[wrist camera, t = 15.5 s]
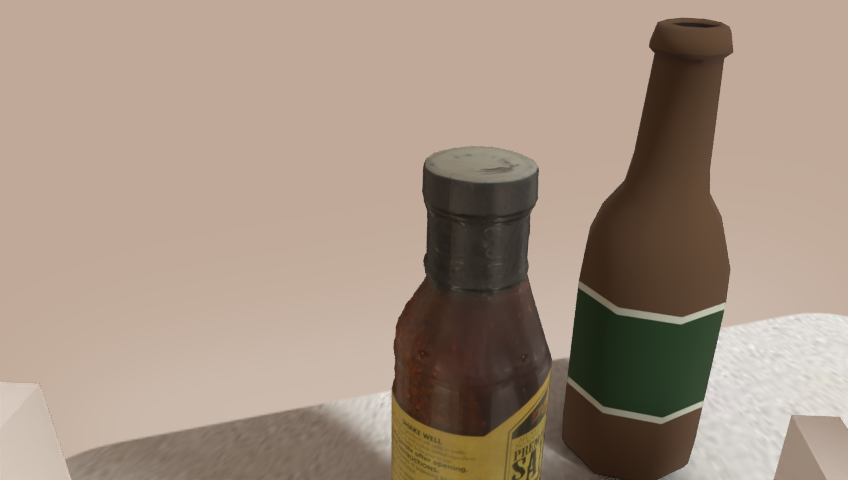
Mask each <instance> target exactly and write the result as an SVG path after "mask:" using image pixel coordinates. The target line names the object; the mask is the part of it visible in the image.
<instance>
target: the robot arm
mask: <svg viewBox="0 0 848 480" xmlns="http://www.w3.org/2000/svg"><path fill="white" fill-rule="evenodd" d="M0 480H71V477H70V474H69V471H68V468H67V465H66V462H65V458H64V456H63V452H62V449H61V446H60V443H59V440H58V437H57V434H56V431H55V428H54V425H53V422H52V419H51V416H50V413H49V410H48V407H47V404H46V401H45V398H44V394H43V391H42V388H41V385H40V383H18V382H0ZM774 480H848V429H847V428H846V426H845V424H844V423H843V421H842V420H841V418H840V417H827V416H803V415H792V416H791V419H790V423H789V427H788V430H787V434H786V437H785V441H784V445H783V448H782V452H781V455H780V459H779V463H778V466H777V470H776V473H775V477H774Z"/></svg>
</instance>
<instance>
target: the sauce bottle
mask: <svg viewBox="0 0 848 480" xmlns="http://www.w3.org/2000/svg"><path fill="white" fill-rule="evenodd" d="M538 172H539V170H538V166H537V164H536V162H535V161H534V160H532V159H530V158H528V157H526V156H524V155H522V154H519V153H516V152H513V151H509V150H505V149H500V148H494V147H475V146H472V147H460V148H452V149H448V150H443V151H439V152H436V153H433V154H432V155H431V156H429V157H428V158H426V160H425V163H424V167H423V189H422V192H423V197H424V202H425V205H426V208H427V219H428V220H427V253H426V254H425V257H424V261H423V262H424V267H425V273H426V277H425V279H424V281H423V282H422V284H421V285H420V286H419V288H418V289H417V291H416V292H415V293H414V295H413V297H412V298H411V300H410V301H408V302H407V304H406V305H405V308H404V310H403V311H402V314H401V316H400V317H399V318H398V322H397V325H396V337H395V340H394V354H395V368H394V369H395V379H394V382H393V386H392V480H540V473H541V462H542V453H543V443H544V436H545V425H546V413H547V404H548V396H549V389H550V374H551V365H552V358H551V354H550V351H549V348H548V345H547V342H546V339H545V335H544V332H543V328H542V325H541V322H540V318H539V315H538V312H537V308H536V305H535V301H534V298H533V295H532V291H531V287H530V283H529V279H528V275H527V272H528V260H527V253H528V239H529V234H530V213H531V211H532V209H533V208H534V206H535V204H536V201H537V199H538Z"/></svg>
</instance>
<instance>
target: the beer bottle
mask: <svg viewBox="0 0 848 480" xmlns="http://www.w3.org/2000/svg"><path fill="white" fill-rule="evenodd" d="M649 47H650V48H651V50H652V51H653V52H654V53H655V54H654V59H653V64H652V69H651V74H650V78H649V83H648V88H647V93H646V98H645V103H644V108H643V112H642V117H641V122H640V127H639V131H638V136H637V141H636V146H635V151H634V154H633V157H632V160H631V163H630V166H629V170H628V172H627V175H626V178H625V180H624V182H623V183H622V184H621V185H620V186H619V187H618V188H617V189H616V190H615V191H614V192H613V193H612V194H611V195H610V196H609V197H608V198H607V199H606V201H604V203H603V204H602V206H601V208H600V209H599V212H598V213H597V215H596V217H595V219H594V221H593V223H592V225H591V227H590V231H589V235H588V240H587V244H586V249H585V253H584V259H583V263H582V268H581V273H580V278H579V284H578V293H577V301H576V310H575V318H574V327H573V336H572V344H571V354H570V361H569V369H568V378H567V386H566V395H565V403H564V412H563V429H562V439H563V441H564V443H565V444H566V445H567V446H568V447H569V448H570V449H571V450H572V451H573V452H574V453H575V454H576V455H577V456H578V457H579V458H580V459H581V460H582V461H583V462H584V463H585V464H586V465H587V466H588V467H589V468H590V469H592V470H593V471H594V472H595V473H596V474H600V475H605V476H610V477H614V478H619V479H624V480H657V479H659V478H661V477H663V476H666V475H668V474H670V473H672V472H674V471H676V470H678V469H681V468H683V467H684V466H685V465H687V464H688V461H689V458H690V454H691V451H692V448H693V445H694V441H695V437H696V433H697V429H698V424H699V420H700V415H701V411H702V406H703V402H704V398H705V393H706V389H707V384H708V380H709V375H710V371H711V366H712V362H713V358H714V353H715V349H716V344H717V340H718V335H719V331H720V327H721V322H722V318H723V313H724V309H725V304H726V298H727V290H728V283H729V275H730V265H729V259H728V252H727V246H726V241H725V235H724V228H723V222H722V217H721V215H720V213H719V211H718V209H717V207H716V205H715V203H714V201H713V199H712V196H711V194H710V164H711V157H712V149H713V141H714V133H715V125H716V118H717V117H716V116H717V109H718V101H719V94H720V86H721V78H722V70H723V62H724V58H725V57H727V56H728V55H730V54H731V53H733V45H732V33H731V30H730V27H729V26H727V25H725V24H723V23H722V22H717V21H712V20H707V19H694V18H675V19H667V20H664V21H660V22H658V23H657V25H656V28H655V30H654V32H653V35H652V37H651V39H650V44H649Z"/></svg>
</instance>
